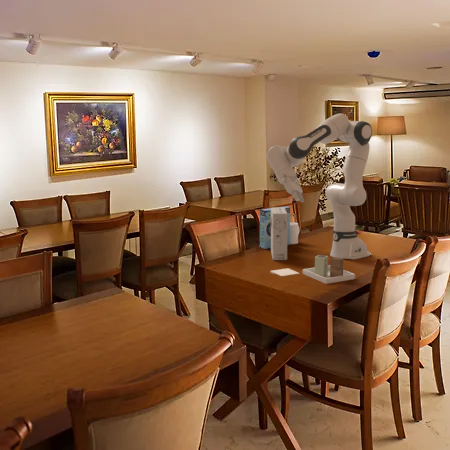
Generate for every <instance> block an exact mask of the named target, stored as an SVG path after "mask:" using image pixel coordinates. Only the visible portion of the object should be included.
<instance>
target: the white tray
mask: <svg viewBox="0 0 450 450" xmlns="http://www.w3.org/2000/svg"><path fill="white" fill-rule="evenodd" d="M302 275H304V276H306V277H309V278H311V279H314V280H315V281H318V282H320V283H323V284H325V285H327V284H328V285H329V284H334V283H339V282H340V283H341V282H346V281H351V280H356V274H355V273H353V272H351V271H348V270H345V269H343V276H337V277H331V278H330V264H328V275H327V276H325V277H322V276H320V275H317V274H315V266H313V267H310V268H303V269H302Z"/></svg>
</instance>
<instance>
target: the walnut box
mask: <svg viewBox="0 0 450 450" xmlns="http://www.w3.org/2000/svg"><path fill="white" fill-rule="evenodd" d="M344 260H345V259H344V258H340V257H332V258H330V263H329V265H330V278H331V277H337V276H343V270H344Z"/></svg>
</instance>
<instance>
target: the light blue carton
mask: <svg viewBox="0 0 450 450" xmlns="http://www.w3.org/2000/svg"><path fill="white" fill-rule="evenodd" d="M283 207H284V208H285V210H286V212H287V214H288V224H287V246H290V245H291V244H290V222H291V206H283ZM271 208H272V207H269V208H260V209H259V248H260V247H261V248H260V249H262V248H263V250H268V249H271ZM275 208H277V206H276V207H275Z"/></svg>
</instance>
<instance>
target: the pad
mask: <svg viewBox="0 0 450 450" xmlns="http://www.w3.org/2000/svg"><path fill="white" fill-rule="evenodd" d="M269 272H270V274H272V275H274V274H275V275H277V276H280V277H286V276H295V275H300V272H297V271H296V270H293V269H292V268H281V269H279V268H278V269H274V270H273V269H272V270H270V271H269Z"/></svg>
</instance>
